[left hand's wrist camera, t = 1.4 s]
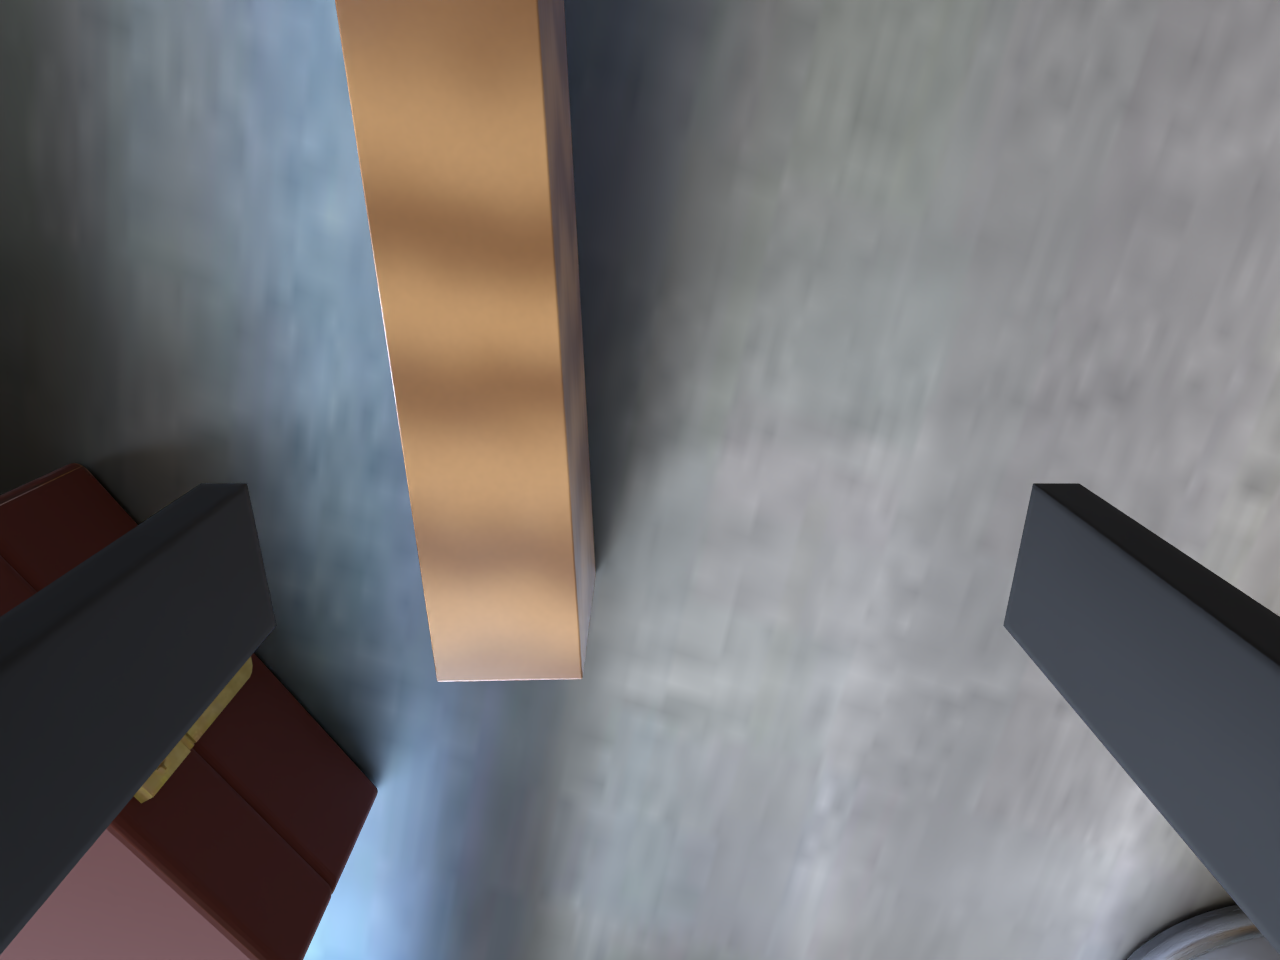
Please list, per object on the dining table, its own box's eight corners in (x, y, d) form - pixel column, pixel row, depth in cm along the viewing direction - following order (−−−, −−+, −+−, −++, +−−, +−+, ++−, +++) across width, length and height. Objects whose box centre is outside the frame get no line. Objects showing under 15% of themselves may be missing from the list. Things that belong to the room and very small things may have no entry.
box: (404, 781, 37) (324, 977, 28) (162, 902, 40) (16, 1114, 31) (102, 442, 31) (-134, 547, 21) (-158, 614, 34) (-464, 773, 25)
